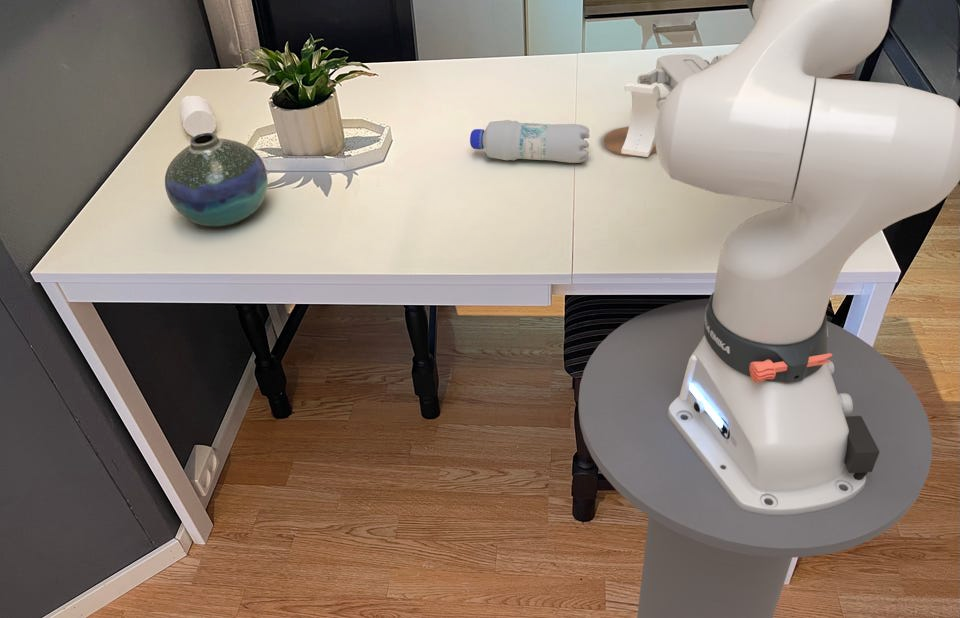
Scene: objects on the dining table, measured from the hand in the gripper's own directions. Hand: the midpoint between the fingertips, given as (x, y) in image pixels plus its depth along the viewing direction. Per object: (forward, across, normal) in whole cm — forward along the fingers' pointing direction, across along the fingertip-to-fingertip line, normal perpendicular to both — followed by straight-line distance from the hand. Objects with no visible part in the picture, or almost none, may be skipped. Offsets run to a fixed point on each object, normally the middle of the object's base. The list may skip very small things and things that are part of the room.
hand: (648, 93), depth 131 cm
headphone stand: (+2, +3, +8) cm, 9 cm away
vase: (+71, +4, +9) cm, 72 cm away
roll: (+79, -31, +9) cm, 85 cm away
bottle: (+11, +4, +6) cm, 13 cm away
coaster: (+2, 0, +9) cm, 9 cm away
